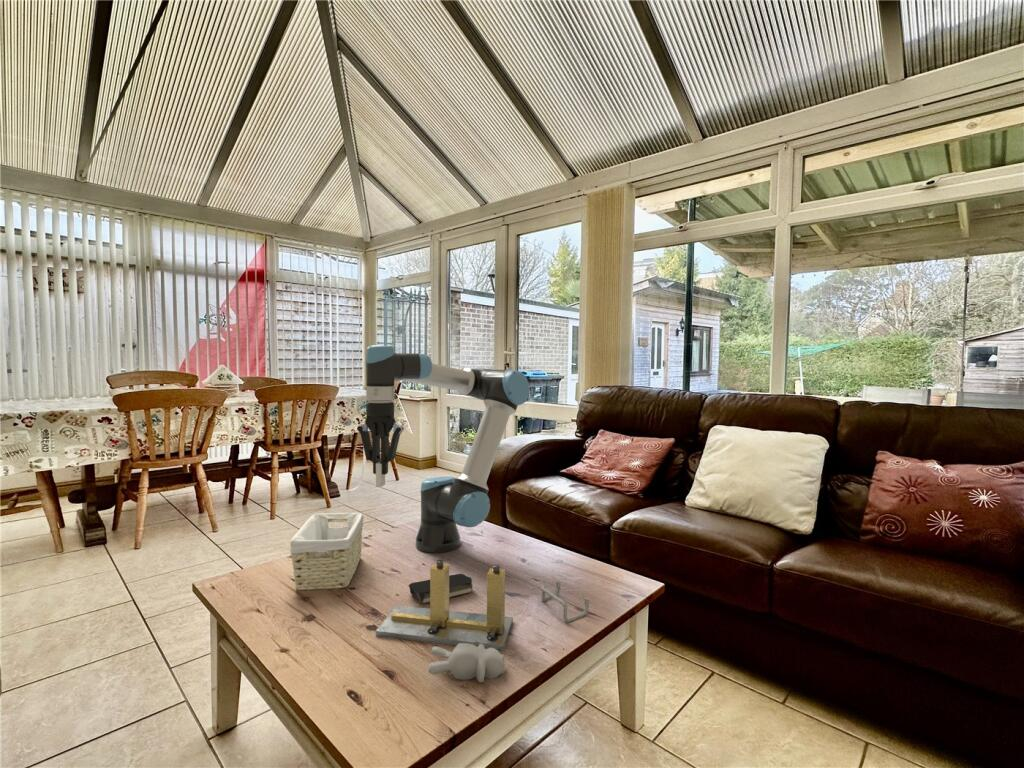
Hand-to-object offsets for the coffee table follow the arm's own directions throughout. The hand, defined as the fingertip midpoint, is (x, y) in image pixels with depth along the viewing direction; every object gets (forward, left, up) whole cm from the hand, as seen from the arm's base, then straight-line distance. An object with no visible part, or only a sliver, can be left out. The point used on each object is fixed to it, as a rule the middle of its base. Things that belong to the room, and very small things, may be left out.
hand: (380, 485), depth 137 cm
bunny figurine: (+33, +34, -29) cm, 55 cm away
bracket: (+3, +52, -29) cm, 59 cm away
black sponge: (+1, +18, -29) cm, 34 cm away
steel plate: (+18, +25, -28) cm, 42 cm away
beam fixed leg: (+19, +25, -27) cm, 42 cm away
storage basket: (-4, -18, -29) cm, 34 cm away
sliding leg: (+19, +23, -27) cm, 40 cm away
